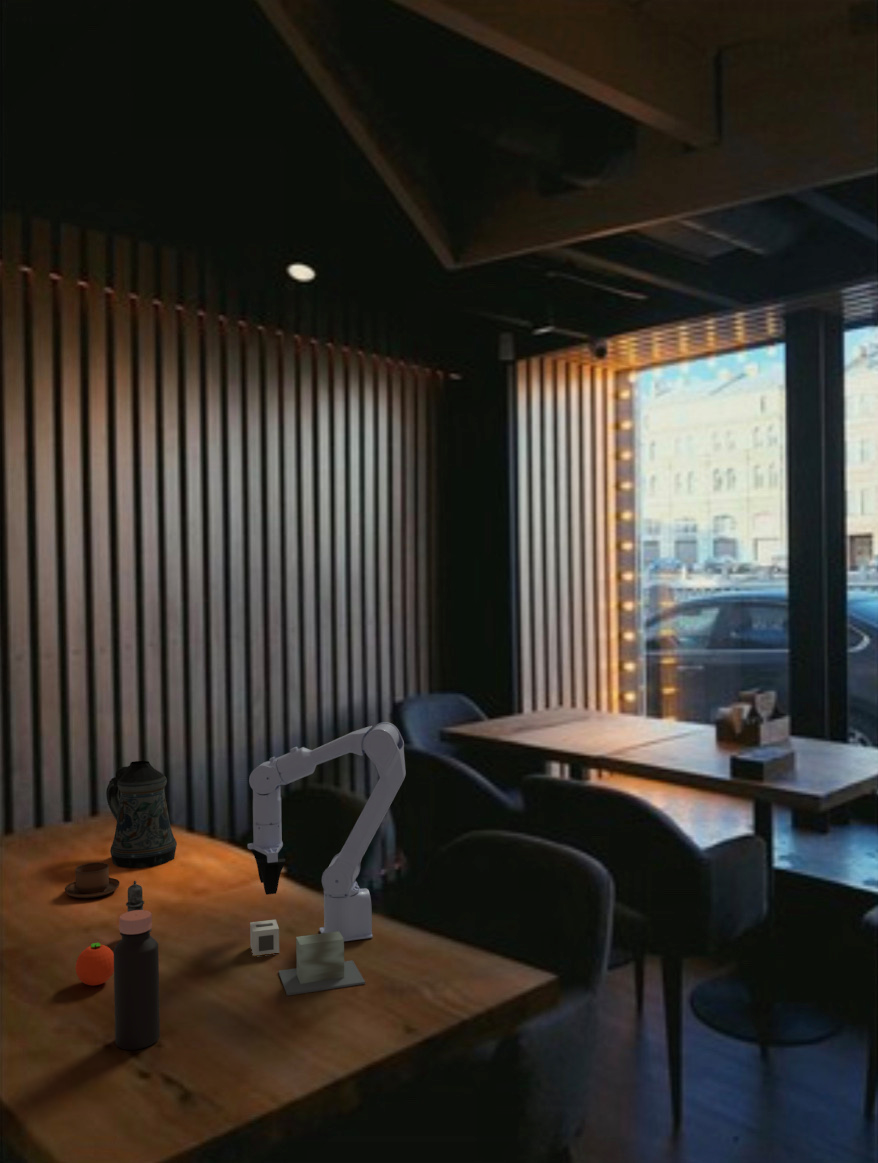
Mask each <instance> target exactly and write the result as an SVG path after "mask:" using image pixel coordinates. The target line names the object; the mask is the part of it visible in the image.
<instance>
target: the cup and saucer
mask: <svg viewBox="0 0 878 1163" xmlns="http://www.w3.org/2000/svg"><path fill="white" fill-rule="evenodd" d="M109 869H110V865H109V864H108V863H107V862H89V863H84V864H81V865H78V866H76V867H75V869H74V870H75V872H74V874H75V878H74V879H75V881H73V882H70V883H68V884H67V885H66V886H65V887H64V892H65V893H66V894H67V895H68V896H70V897H72V898H76V899H94V898H98V897H103V896H107V895H108V894H109V895H110V894H112V893H113V892H114V891H116V890H117V889H118V888H119V886H120V880H118V879H116V878H114V877H110V874H109V873H110V870H109Z"/></svg>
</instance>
